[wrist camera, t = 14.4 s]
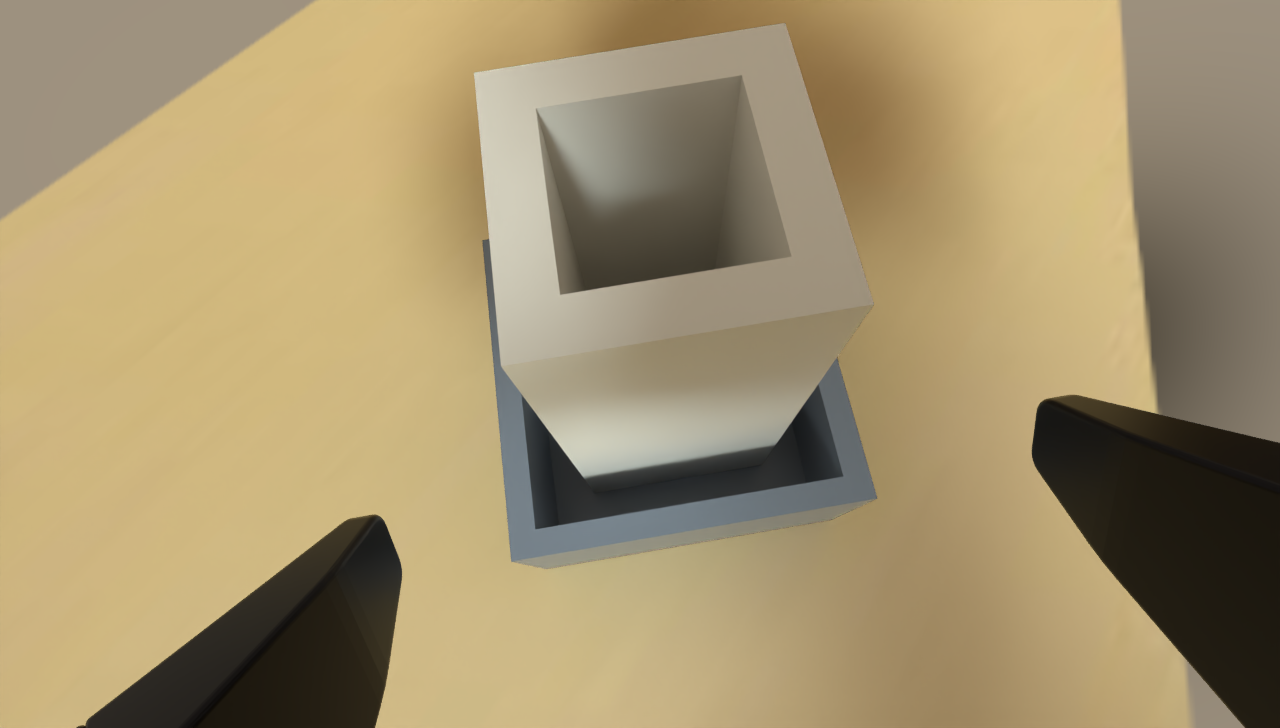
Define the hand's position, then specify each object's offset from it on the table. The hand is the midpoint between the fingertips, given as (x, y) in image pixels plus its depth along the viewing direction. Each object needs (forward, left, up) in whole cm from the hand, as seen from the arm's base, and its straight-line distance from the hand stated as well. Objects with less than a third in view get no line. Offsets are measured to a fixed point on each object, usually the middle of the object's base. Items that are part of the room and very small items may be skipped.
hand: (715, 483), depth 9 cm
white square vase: (+2, -5, -13) cm, 14 cm away
